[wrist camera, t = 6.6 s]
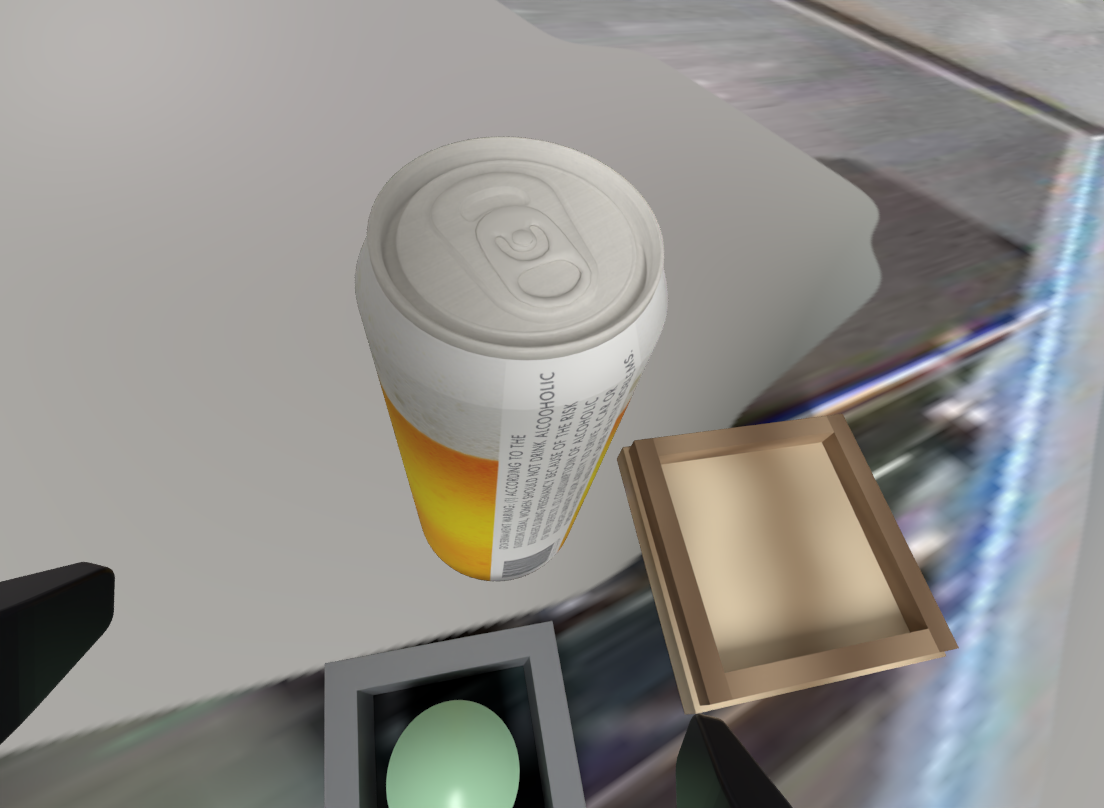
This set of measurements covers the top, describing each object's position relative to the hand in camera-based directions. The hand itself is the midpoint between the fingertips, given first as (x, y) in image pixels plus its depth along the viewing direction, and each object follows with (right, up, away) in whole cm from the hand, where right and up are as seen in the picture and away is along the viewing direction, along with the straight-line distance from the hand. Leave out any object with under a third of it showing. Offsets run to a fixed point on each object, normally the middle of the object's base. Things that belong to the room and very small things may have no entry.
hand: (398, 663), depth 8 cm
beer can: (0, 0, +15) cm, 15 cm away
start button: (-1, -7, +9) cm, 12 cm away
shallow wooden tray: (+11, -2, +15) cm, 19 cm away
